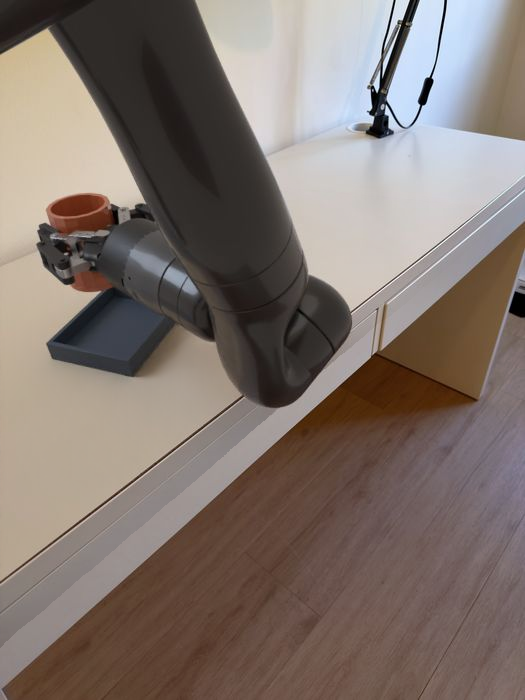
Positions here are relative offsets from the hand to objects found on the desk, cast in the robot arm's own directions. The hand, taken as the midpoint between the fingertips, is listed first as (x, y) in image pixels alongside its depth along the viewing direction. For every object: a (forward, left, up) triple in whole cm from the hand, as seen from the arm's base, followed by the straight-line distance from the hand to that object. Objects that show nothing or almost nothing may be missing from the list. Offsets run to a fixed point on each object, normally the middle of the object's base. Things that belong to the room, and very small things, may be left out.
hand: (73, 220), depth 59 cm
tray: (+3, 0, -18) cm, 18 cm away
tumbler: (-1, -2, -6) cm, 7 cm away
